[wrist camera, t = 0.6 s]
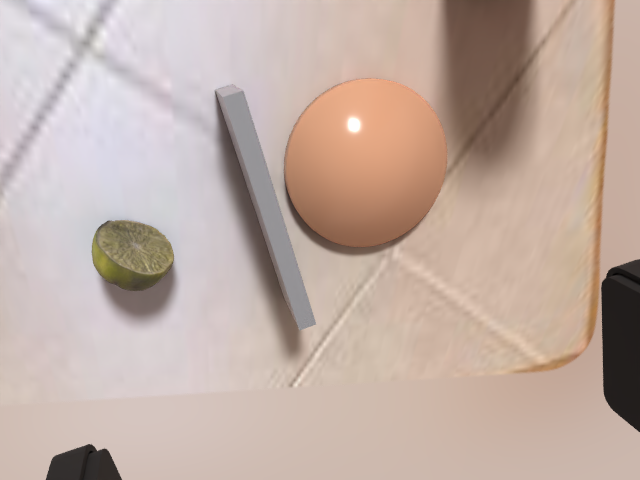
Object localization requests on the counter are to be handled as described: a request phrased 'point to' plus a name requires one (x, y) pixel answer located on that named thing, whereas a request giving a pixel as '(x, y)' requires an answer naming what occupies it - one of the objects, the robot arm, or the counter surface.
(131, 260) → the lime
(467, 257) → the counter surface
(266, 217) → the low wall
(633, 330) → the robot arm
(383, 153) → the peach domed disc
